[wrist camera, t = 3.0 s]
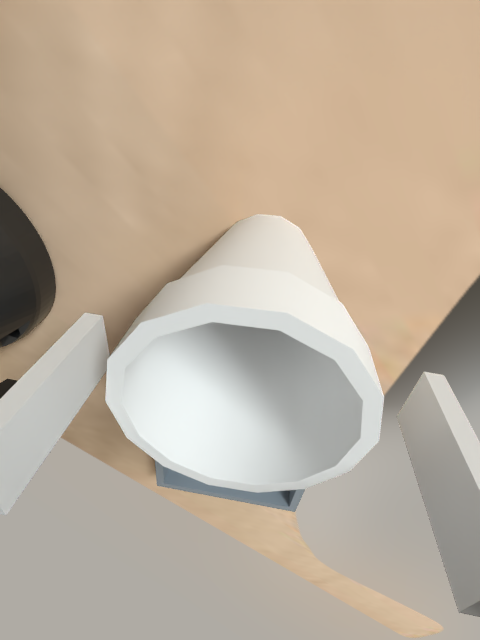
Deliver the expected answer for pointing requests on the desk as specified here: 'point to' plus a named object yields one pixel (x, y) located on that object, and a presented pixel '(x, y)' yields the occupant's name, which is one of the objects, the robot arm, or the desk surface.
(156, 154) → the desk surface
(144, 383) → the foam cup
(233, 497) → the grey tray
